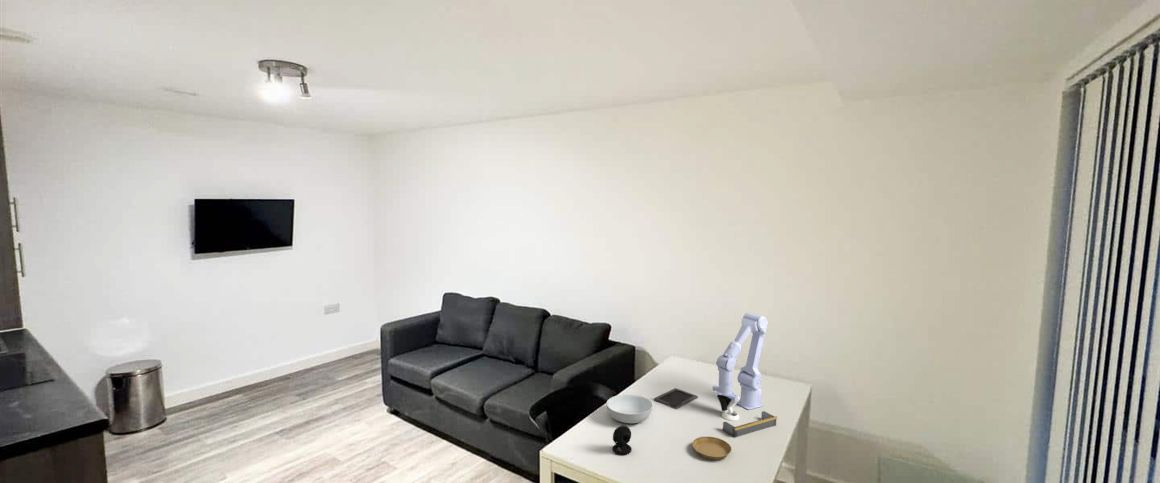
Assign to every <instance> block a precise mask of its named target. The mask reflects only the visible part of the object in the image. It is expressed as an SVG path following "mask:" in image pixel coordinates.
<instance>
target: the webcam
mask: <svg viewBox="0 0 1160 483" xmlns="http://www.w3.org/2000/svg"><path fill="white" fill-rule="evenodd" d="M631 438H632V430H631V429H630V427H628V426H627V425H619V426H618V427H616V428H615V429H614V431H613V434H612V440H613V442H614V445H613V446H612V449H611V450H612V452H613V453H614V452H615V453H614V454H616V455H618V454H619V456H627V454H628V455H630V454H631V452H632V450H633V449H632V447H631V445H629V442H630V441H631ZM617 447H618V448H619V449H618V448H617ZM629 453H630V454H629Z"/></svg>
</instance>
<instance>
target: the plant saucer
mask: <svg viewBox="0 0 1160 483" xmlns="http://www.w3.org/2000/svg"><path fill="white" fill-rule="evenodd" d="M692 448H693V449H694V450H695V451H696V453H697V454H699V455H700V456H701V457H703V458H705V459H708V460H715V461H718V460H722V459H724V458H726V457H727V456H729V455H730V454H731V453H732V446H731V445H730V444H729V443H728V441H725V440H724V439H721V438H719V437H714V436H699V437H697V438H695V439H693V441H692Z"/></svg>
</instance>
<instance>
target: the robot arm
mask: <svg viewBox="0 0 1160 483" xmlns="http://www.w3.org/2000/svg"><path fill="white" fill-rule="evenodd" d="M768 324H769V321H768V320H767V318H766V316H764V315H759V314H755V313H751V312H746V313H744V315H743V316H742V319H741V326H740V328H739V331H738V332H737V334H736V337H735V338H734V340H733V341H730V342H729V344H728V345H727V347H726V349H725V351H724V352H723V354H722V355H720V356H719V357H718V358H717V360H716V366H717V369H718V385H712V391H715V392H716V394H717V395H716V397H717V399H718V401H719V403H720V404H719V405H720V407H721V408H720V409H721V411H722V412H724V411H725V410H727V406H728V405H729V404H730V403H731V402H732V400H733V401H734V402H737V401H738V397H737V396H738V395H736V394H735V393H734V392H733V390H732V387H733V385H732V383H733V370H734V369H735V367H736V364H737V358H738V356H739V355H740V353H741V351H742V344H744V342H745V341H746V339H747V337H748V336H749V334H750V333H752V336H751V341H750V344H749V349H748V354H747V358H746V363H745V365H744V366H742V367H741V368H740V370H739V372H738V375H737V382H738V383H739V386H740V400H739V401H738V402H737V404H736V405H738V406H741V407H742V408H744V409H746V410H748V411H750V410H754V409H758V408H761V407H764V405H763V404H762V403H763V390H762V389H761V386H762V376H763V375H762V373H761V372H760V371H759V365H760V360H761V355H762V350H763V345H764V340H765V338H766V335H767V334H766V333H767V329H768Z"/></svg>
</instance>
